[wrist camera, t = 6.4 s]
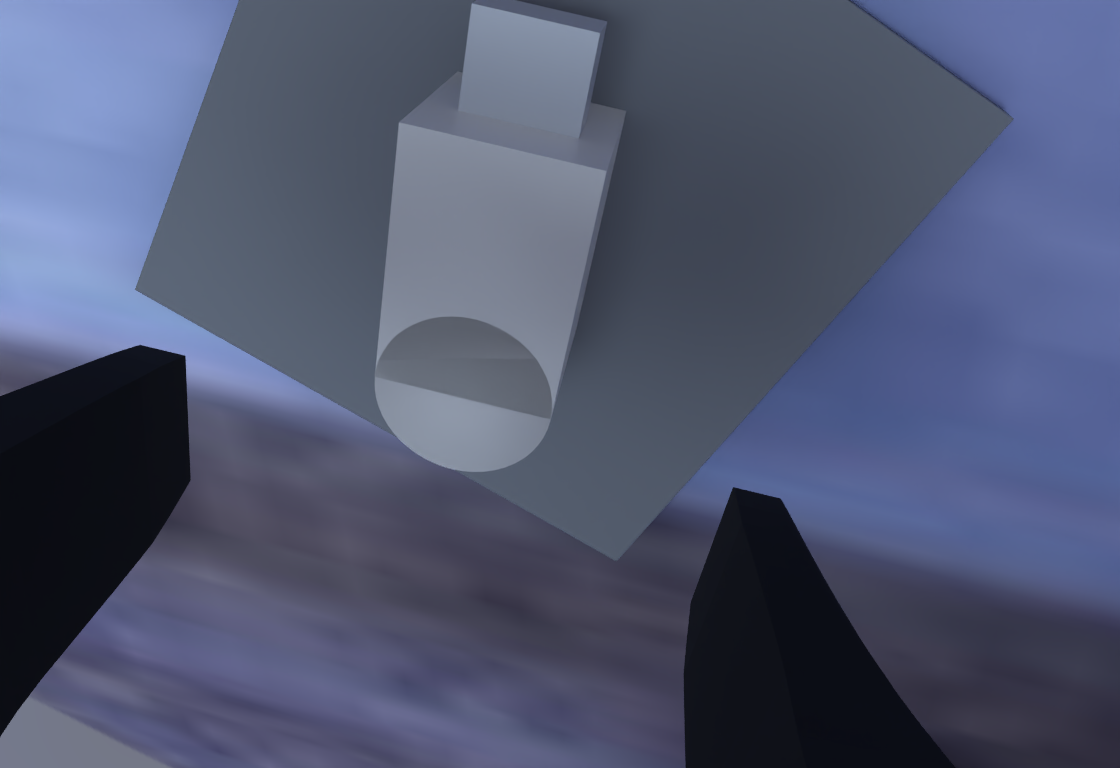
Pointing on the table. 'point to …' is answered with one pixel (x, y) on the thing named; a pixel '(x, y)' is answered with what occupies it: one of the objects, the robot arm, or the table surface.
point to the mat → (626, 226)
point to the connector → (494, 237)
